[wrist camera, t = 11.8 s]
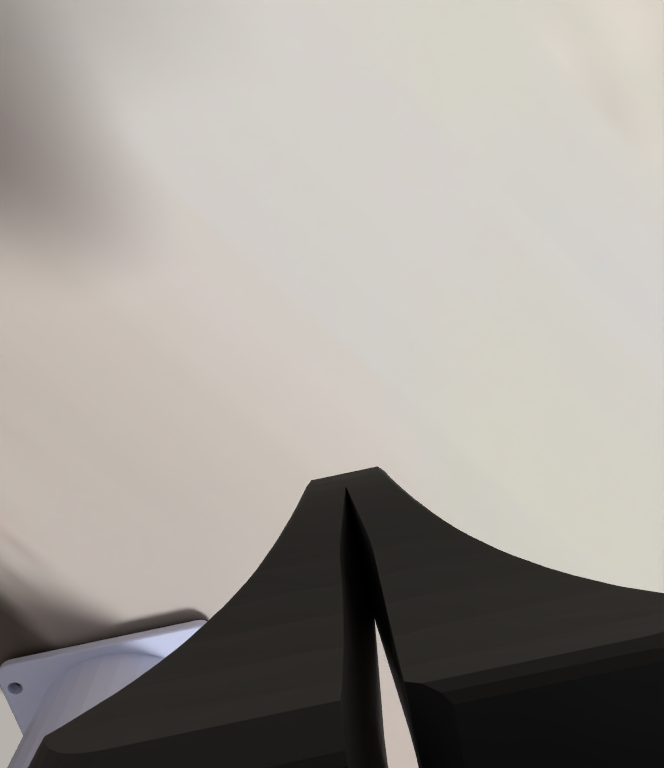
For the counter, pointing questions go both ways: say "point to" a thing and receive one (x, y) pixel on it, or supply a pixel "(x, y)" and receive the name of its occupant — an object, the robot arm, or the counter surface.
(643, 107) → the counter surface
